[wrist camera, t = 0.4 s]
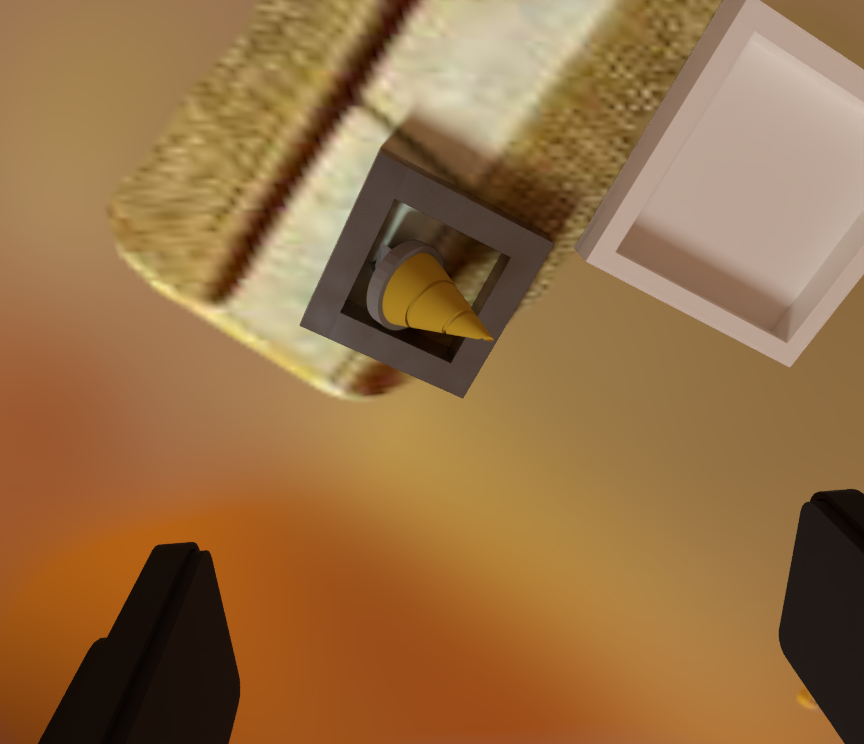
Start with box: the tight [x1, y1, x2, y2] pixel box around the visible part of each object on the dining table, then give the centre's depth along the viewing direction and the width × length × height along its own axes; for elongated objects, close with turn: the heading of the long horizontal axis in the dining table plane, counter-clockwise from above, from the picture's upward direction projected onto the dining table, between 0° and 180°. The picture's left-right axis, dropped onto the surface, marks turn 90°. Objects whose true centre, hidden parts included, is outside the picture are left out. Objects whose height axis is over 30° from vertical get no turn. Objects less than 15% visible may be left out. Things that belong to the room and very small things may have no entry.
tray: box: [574, 0, 864, 367], centre depth 39 cm, size 15×15×3 cm
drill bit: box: [367, 240, 493, 342], centre depth 39 cm, size 5×5×10 cm
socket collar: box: [300, 147, 554, 398], centre depth 41 cm, size 11×11×2 cm
